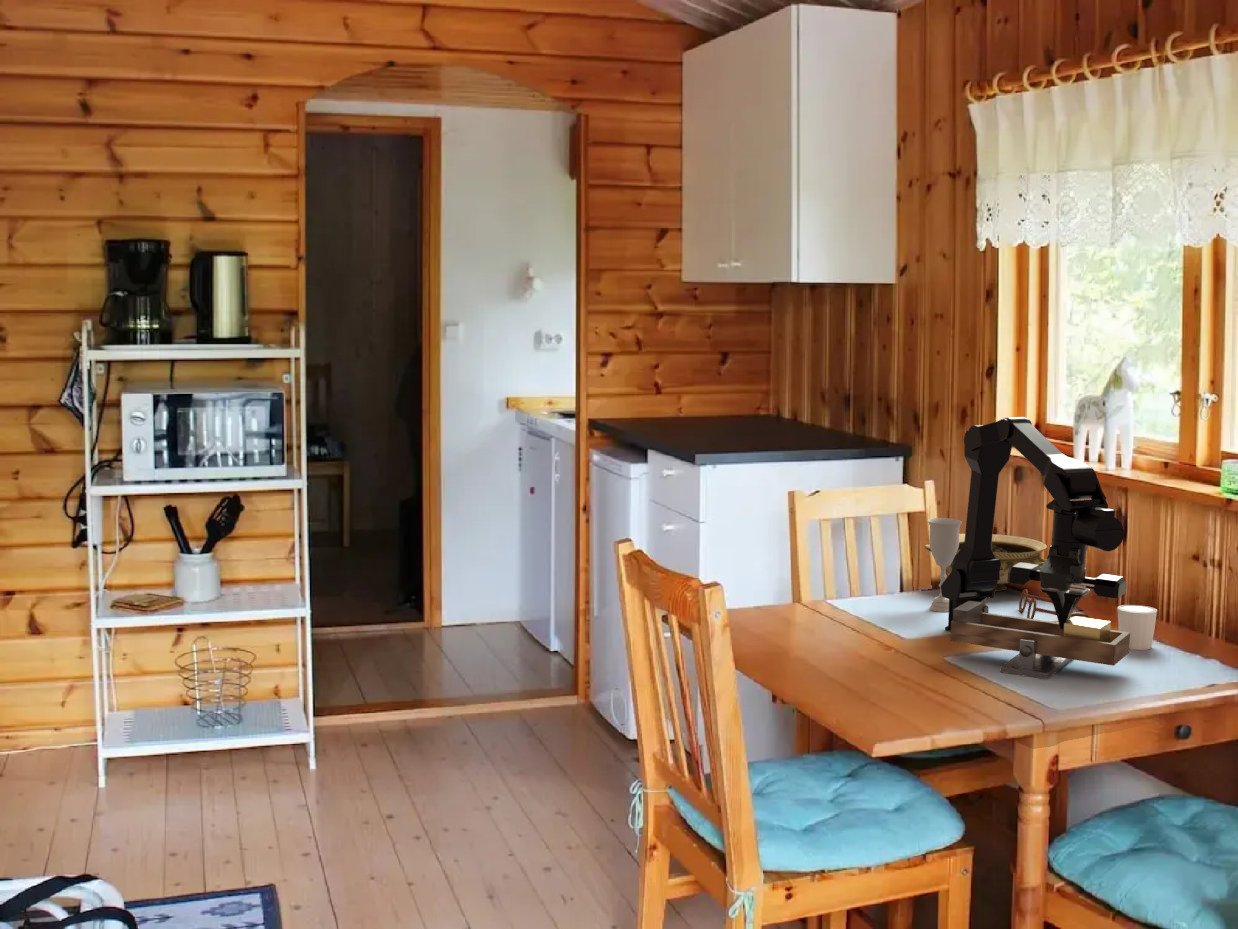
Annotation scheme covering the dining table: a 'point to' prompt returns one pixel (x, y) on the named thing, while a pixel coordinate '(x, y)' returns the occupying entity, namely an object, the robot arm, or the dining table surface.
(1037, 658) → the pivot stand
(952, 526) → the chalice
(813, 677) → the dining table surface
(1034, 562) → the ceramic bowl
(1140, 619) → the white cup
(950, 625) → the robot arm
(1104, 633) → the brass block
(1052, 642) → the beam
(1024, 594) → the glasses
